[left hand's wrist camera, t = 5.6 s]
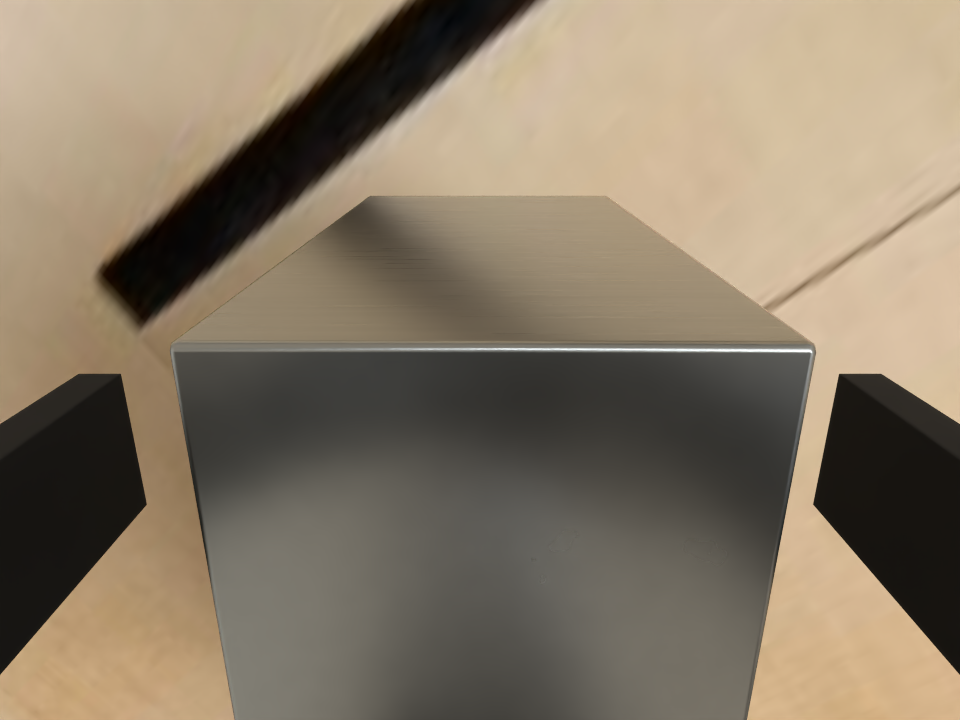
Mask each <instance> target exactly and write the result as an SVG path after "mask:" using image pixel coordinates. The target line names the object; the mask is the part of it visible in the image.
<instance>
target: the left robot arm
mask: <svg viewBox="0 0 960 720" xmlns="http://www.w3.org/2000/svg"><path fill="white" fill-rule="evenodd" d="M146 505H147V503H146V498H145V493H144V488H143V483H142V478H141V473H140V468H139V463H138V458H137V453H136V448H135V443H134V438H133V433H132V428H131V423H130V418H129V413H128V408H127V403H126V398H125V393H124V388H123V383H122V378H121V374H78V375H76V376H75V377H73V378H72V379H70V380H69V381H67V382H65V383H64V384H62V385H61V386H59V387H58V388H56V389H55V390H53V391H51V392H50V393H48V394H47V395H45V396H44V397H42V398H40V399H39V400H37V401H36V402H34V403H33V404H31V405H29V406H28V407H26V408H25V409H23V410H22V411H20V412H19V413H17V414H15V415H14V416H12V417H11V418H9V419H8V420H6V421H4V422H3V423H1V424H0V674H1V673H2V672H3V671H4V670H5V668H6V667H7V666H8V665H9V664H10V663H11V661H12V660H13V659H14V658H15V657H16V656H17V655H18V653H19V652H20V651H21V650H22V649H23V648H24V646H25V645H26V644H27V643H28V642H29V641H30V639H31V638H32V637H33V636H34V635H35V634H36V632H37V631H38V630H39V629H40V628H41V627H42V626H43V624H44V623H45V622H46V621H47V620H48V619H49V617H50V616H51V615H52V614H53V613H54V612H55V610H56V609H57V608H58V607H59V606H60V605H61V603H62V602H63V601H64V600H65V599H66V598H67V596H68V595H69V594H70V593H71V592H72V591H73V590H74V588H75V587H76V586H77V585H78V584H79V583H80V581H81V580H82V579H83V578H84V577H85V576H86V574H87V573H88V572H89V571H90V570H91V569H92V567H93V566H94V565H95V564H96V563H97V562H98V560H99V559H100V558H101V557H102V556H103V555H104V554H105V552H106V551H107V550H108V549H109V548H110V547H111V545H112V544H113V543H114V542H115V541H116V540H117V538H118V537H119V536H120V535H121V534H122V533H123V531H124V530H125V529H126V528H127V527H128V526H129V524H130V523H131V522H132V521H133V520H134V519H135V518H136V516H137V515H138V514H139V513H140V512H141V511H142V509H143V508H144V507H145V506H146ZM813 505H814V506H815V507H816V508H817V509H818V511H819V512H820V513H821V514H822V515H823V516H824V518H825V519H826V520H827V521H828V522H829V523H830V524H831V526H832V527H833V528H834V529H835V530H836V531H837V533H838V534H839V535H840V536H841V537H842V538H843V540H844V541H845V542H846V543H847V544H848V545H849V547H850V548H851V549H852V550H853V551H854V552H855V554H856V555H857V556H858V557H859V558H860V559H861V560H862V562H863V563H864V564H865V565H866V566H867V567H868V569H869V570H870V571H871V572H872V573H873V574H874V576H875V577H876V578H877V579H878V580H879V581H880V583H881V584H882V585H883V586H884V587H885V588H886V590H887V591H888V592H889V593H890V594H891V595H892V596H893V598H894V599H895V600H896V601H897V602H898V603H899V605H900V606H901V607H902V608H903V609H904V610H905V612H906V613H907V614H908V615H909V616H910V617H911V619H912V620H913V621H914V622H915V623H916V624H917V626H918V627H919V628H920V629H921V630H922V631H923V632H924V634H925V635H926V636H927V637H928V638H929V639H930V641H931V642H932V643H933V644H934V645H935V646H936V648H937V649H938V650H939V651H940V652H941V653H942V655H943V656H944V657H945V658H946V659H947V660H948V662H949V663H950V664H951V665H952V666H953V667H954V668H955V670H956V671H957V672H958V673H959V674H960V424H959V423H957V422H956V421H954V420H952V419H951V418H949V417H948V416H946V415H945V414H943V413H941V412H940V411H938V410H937V409H935V408H934V407H932V406H931V405H929V404H927V403H926V402H924V401H923V400H921V399H920V398H918V397H916V396H915V395H913V394H912V393H910V392H909V391H907V390H905V389H904V388H902V387H901V386H899V385H898V384H896V383H895V382H893V381H891V380H890V379H888V378H887V377H885V376H884V375H882V374H839V378H838V383H837V388H836V393H835V398H834V403H833V408H832V413H831V418H830V423H829V428H828V433H827V438H826V443H825V448H824V453H823V458H822V463H821V468H820V473H819V478H818V483H817V488H816V493H815V498H814V503H813Z"/></svg>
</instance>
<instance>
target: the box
mask: <svg viewBox="0 0 960 720" xmlns="http://www.w3.org/2000/svg"><path fill="white" fill-rule="evenodd" d="M170 354H171V360H172V366H173V371H174V377H175V383H176V388H177V394H178V400H179V405H180V411H181V417H182V422H183V428H184V434H185V439H186V445H187V451H188V457H189V462H190V468H191V474H192V479H193V485H194V491H195V496H196V502H197V508H198V513H199V519H200V525H201V531H202V536H203V542H204V548H205V553H206V559H207V565H208V570H209V576H210V582H211V588H212V593H213V599H214V605H215V610H216V616H217V622H218V627H219V633H220V639H221V644H222V650H223V656H224V661H225V667H226V673H227V679H228V684H229V690H230V696H231V701H232V707H233V713H234V718H235V720H747V716H748V710H749V705H750V700H751V694H752V689H753V684H754V679H755V673H756V668H757V663H758V657H759V652H760V647H761V641H762V636H763V631H764V625H765V620H766V615H767V610H768V604H769V599H770V594H771V588H772V583H773V578H774V572H775V567H776V562H777V556H778V551H779V546H780V540H781V535H782V530H783V525H784V519H785V514H786V509H787V503H788V498H789V493H790V487H791V482H792V477H793V471H794V466H795V461H796V456H797V450H798V445H799V440H800V434H801V429H802V424H803V418H804V413H805V408H806V402H807V397H808V392H809V386H810V381H811V376H812V371H813V365H814V360H815V355H816V350H815V345H814V343H812V342H811V341H809V340H808V339H807V338H805V337H804V336H802V335H801V334H799V333H798V332H797V331H795V330H794V329H792V328H791V327H790V326H788V325H787V324H785V323H784V322H783V321H781V320H780V319H778V318H777V317H776V316H774V315H773V314H771V313H770V312H769V311H767V310H766V309H764V308H763V307H762V306H760V305H759V304H757V303H756V302H754V301H753V300H752V299H750V298H749V297H747V296H746V295H745V294H743V293H742V292H740V291H739V290H738V289H736V288H735V287H733V286H732V285H731V284H729V283H728V282H726V281H725V280H724V279H722V278H721V277H719V276H718V275H717V274H715V273H714V272H712V271H711V270H710V269H708V268H707V267H705V266H704V265H702V264H701V263H700V262H698V261H697V260H695V259H694V258H693V257H691V256H690V255H688V254H687V253H686V252H684V251H683V250H681V249H680V248H679V247H677V246H676V245H674V244H673V243H672V242H670V241H669V240H667V239H666V238H665V237H663V236H662V235H660V234H659V233H657V232H656V231H655V230H653V229H652V228H650V227H649V226H648V225H646V224H645V223H643V222H642V221H641V220H639V219H638V218H636V217H635V216H634V215H632V214H631V213H629V212H628V211H627V210H625V209H624V208H622V207H621V206H620V205H618V204H617V203H615V202H614V201H612V200H611V199H610V198H608V197H606V196H370V197H368V198H367V199H365V200H364V201H362V202H361V203H360V204H358V205H357V206H356V207H354V208H353V209H352V210H350V211H349V212H348V213H346V214H345V215H344V216H342V217H341V218H340V219H338V220H337V221H335V222H334V223H333V224H331V225H330V226H329V227H327V228H326V229H325V230H323V231H322V232H321V233H319V234H318V235H317V236H315V237H314V238H313V239H311V240H310V241H308V242H307V243H306V244H304V245H303V246H302V247H300V248H299V249H298V250H296V251H295V252H294V253H292V254H291V255H290V256H288V257H287V258H286V259H284V260H283V261H282V262H280V263H279V264H277V265H276V266H275V267H273V268H272V269H271V270H269V271H268V272H267V273H265V274H264V275H263V276H261V277H260V278H259V279H257V280H256V281H255V282H253V283H252V284H250V285H249V286H248V287H246V288H245V289H244V290H242V291H241V292H240V293H238V294H237V295H236V296H234V297H233V298H232V299H230V300H229V301H228V302H226V303H225V304H223V305H222V306H221V307H219V308H218V309H217V310H215V311H214V312H213V313H211V314H210V315H209V316H207V317H206V318H205V319H203V320H202V321H201V322H199V323H198V324H196V325H195V326H194V327H192V328H191V329H190V330H188V331H187V332H186V333H184V334H183V335H182V336H180V337H179V338H178V339H176V340H175V341H174V342H172V344H171V348H170Z"/></svg>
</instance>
